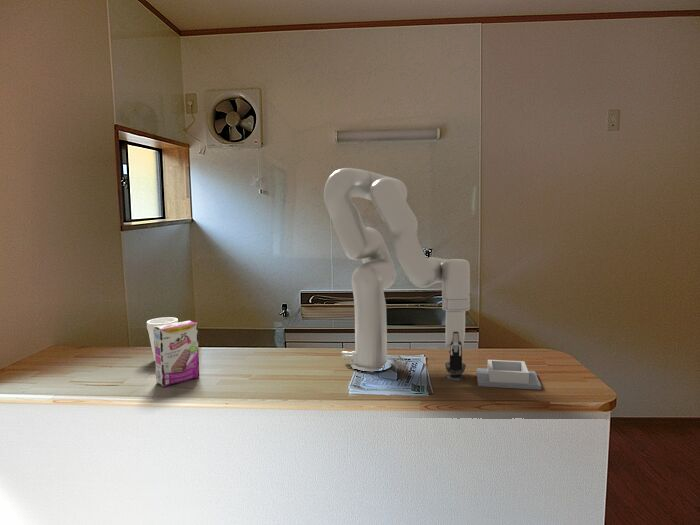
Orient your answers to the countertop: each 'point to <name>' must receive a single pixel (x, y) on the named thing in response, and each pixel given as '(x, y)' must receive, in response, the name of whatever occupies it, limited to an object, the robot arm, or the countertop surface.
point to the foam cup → (158, 322)
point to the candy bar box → (176, 352)
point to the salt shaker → (454, 371)
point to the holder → (507, 375)
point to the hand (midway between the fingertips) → (456, 364)
